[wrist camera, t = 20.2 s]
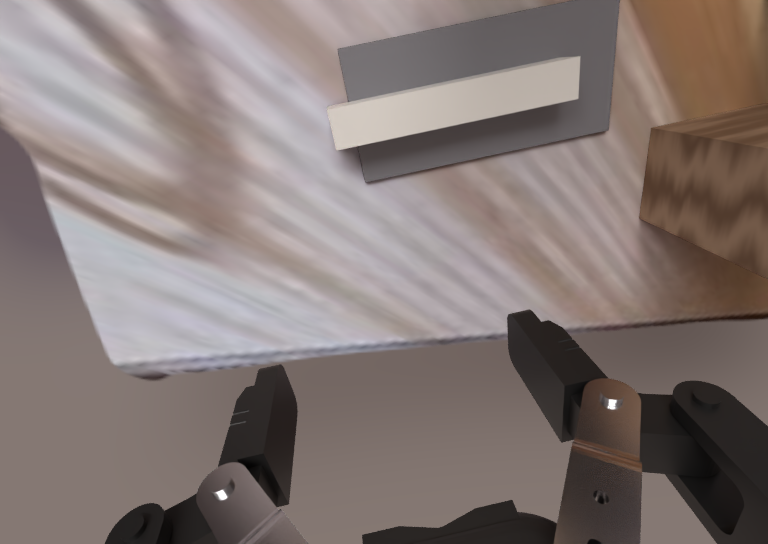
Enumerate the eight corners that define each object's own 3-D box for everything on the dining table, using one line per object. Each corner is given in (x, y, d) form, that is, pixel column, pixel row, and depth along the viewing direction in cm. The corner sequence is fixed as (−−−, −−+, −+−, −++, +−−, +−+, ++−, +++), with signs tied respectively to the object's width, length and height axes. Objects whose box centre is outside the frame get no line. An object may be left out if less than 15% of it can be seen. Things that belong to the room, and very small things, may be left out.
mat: (337, 49, 40) (337, 48, 40) (616, -9, 41) (620, -10, 41) (364, 181, 47) (365, 182, 46) (605, 129, 48) (608, 130, 47)
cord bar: (327, 106, 42) (326, 109, 39) (559, 57, 43) (580, 56, 39) (336, 144, 44) (336, 150, 41) (558, 96, 45) (578, 98, 41)
